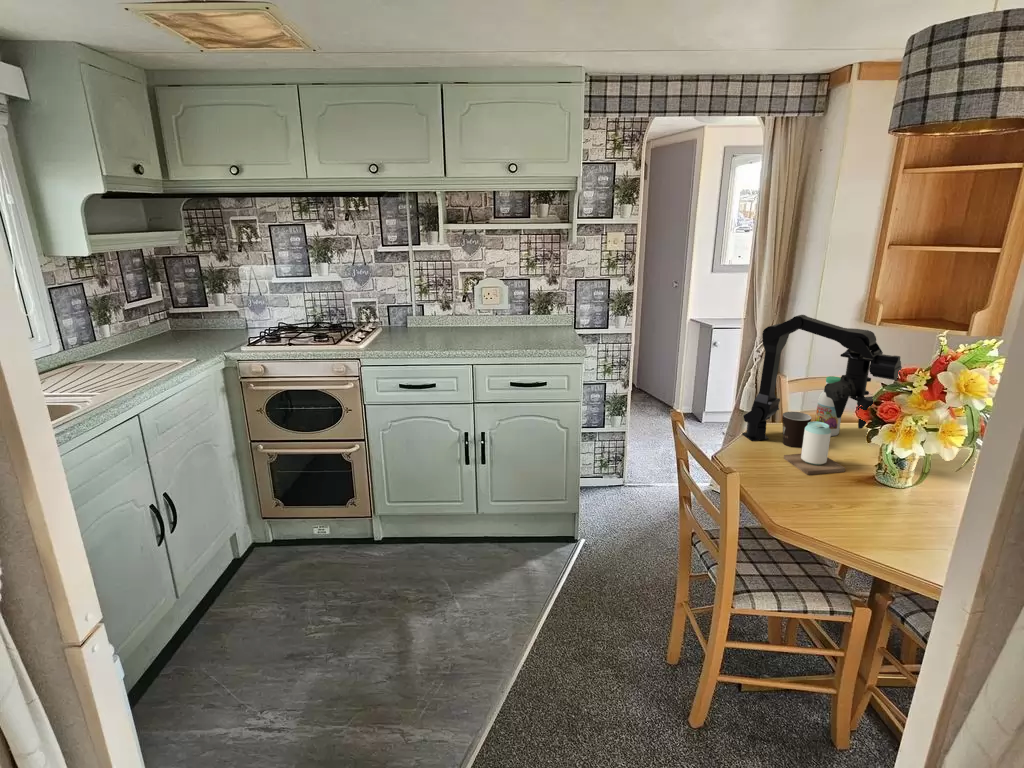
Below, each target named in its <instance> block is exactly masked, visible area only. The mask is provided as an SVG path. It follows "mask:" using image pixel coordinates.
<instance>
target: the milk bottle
mask: <svg viewBox="0 0 1024 768" xmlns="http://www.w3.org/2000/svg"><path fill="white" fill-rule="evenodd" d="M840 379H841V377H838V376H834V375H833V376H832V375H831V376H826V378H825V386H826V385H827V384H828V383H834V382H838V381H840ZM814 419H815V420H814V421H816V422H823V423H826V424H828V425H829V428H830V430H831V436H830V437H836V436H838V435H839V433H840V429H841V422H842V417H841V418H837V416H836V411H835V407H834V403H833V400H832V399H831V398H829V397H827V396H826V393H825V392H824V390H823V391H822V392H821V393H820V395H819V397H818V400H817V406H816V413H815V418H814Z"/></svg>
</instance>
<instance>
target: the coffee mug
mask: <svg viewBox="0 0 1024 768" xmlns="http://www.w3.org/2000/svg"><path fill="white" fill-rule="evenodd" d="M809 422H812V416H811V415H809V414H808V413H804V412H802V411H801V412H799V411H786V412H783V413H782V444H783V445H784V446H786V447H789V448H794V449H799V448H800V449H802V445H803V438H804V431H805V427H806V426H807V425H808V423H809Z"/></svg>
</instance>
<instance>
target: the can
mask: <svg viewBox="0 0 1024 768" xmlns="http://www.w3.org/2000/svg"><path fill="white" fill-rule="evenodd" d="M831 437H832V436H831V430H830V428H829V425H828V424H826V423H823V422H816V421H815V420H813V421H811V422H809V423H808V425H807V426H806V427H805V431H804V438H803V445H802V447H801V452H800V454H801V459H802V460H804V461H805V462H806V463H809V464H813V465H821V464H824V463H826V462H827V457H828V456H829V450H830V449H829V448H830V443H831V442H830V441H831Z"/></svg>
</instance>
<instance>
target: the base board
mask: <svg viewBox="0 0 1024 768" xmlns="http://www.w3.org/2000/svg"><path fill="white" fill-rule="evenodd" d="M783 460H785V461H787V462H788V463H789V464H791V465H792V466H794V467H795V468H797V469H798V470H800V471H801V472H803V473H804V474H805V475H807V476H813V475H822V474H823V475H824V474H825V475H826V474H832V473H833V474H834V473H845V472H846V467H844V466H843V465H841V464H839V463H838V462H836V461H834V460H833V459H832V458H830V457H828V456H827V462H826V463H824V464H821V465H813V464H809V463H806V462H805V461H804V460H802V459H801V453H794V454H784V455H783Z"/></svg>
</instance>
